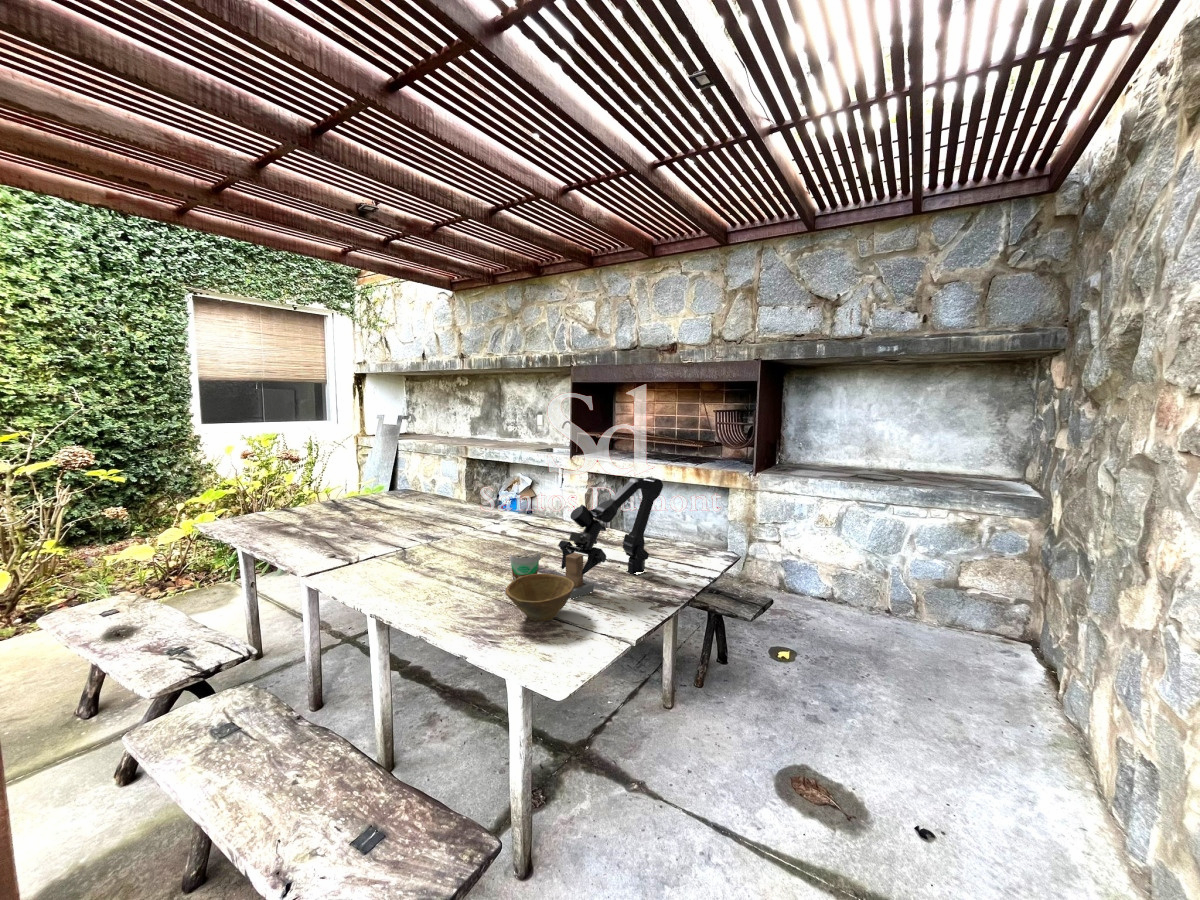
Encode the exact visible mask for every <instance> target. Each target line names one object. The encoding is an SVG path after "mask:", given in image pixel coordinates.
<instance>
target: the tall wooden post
mask: <svg viewBox="0 0 1200 900" xmlns="http://www.w3.org/2000/svg"><path fill="white" fill-rule="evenodd" d="M583 568H584V554H581V553H580V554H578V553H577V552H574V553H572V554H569V555H567V556H566V567H565V577H567V578H569V579H570V580H572V581H573V582H574V585H575V586H574V588H577V587H580V586H583V580H584V575H582V570H583Z"/></svg>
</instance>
